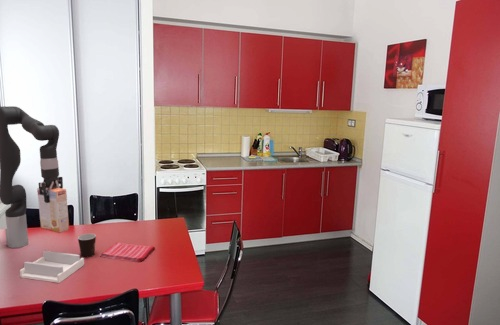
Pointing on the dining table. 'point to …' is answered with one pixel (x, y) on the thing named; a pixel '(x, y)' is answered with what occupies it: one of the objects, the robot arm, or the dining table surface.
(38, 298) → the dining table surface
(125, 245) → the dish towel
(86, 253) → the coffee mug
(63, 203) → the cracker box
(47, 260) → the white shallow tray
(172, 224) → the dining table surface
